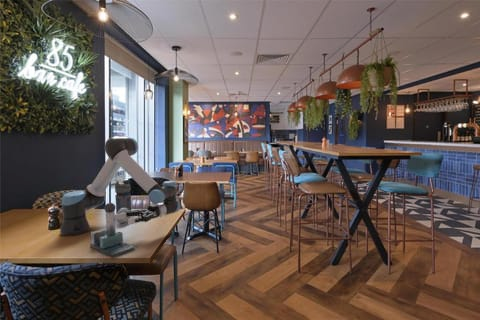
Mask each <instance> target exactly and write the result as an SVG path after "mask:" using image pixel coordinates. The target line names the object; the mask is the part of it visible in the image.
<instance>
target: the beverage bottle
mask: <svg viewBox="0 0 480 320" xmlns="http://www.w3.org/2000/svg"><path fill="white" fill-rule="evenodd" d="M131 190H132V181H131V180H129V179H126V180H125V181H122V182H121V183H120V181H116V182H115V185H114V192H115V193H116V194H115V207H116V208H115V215H117V213H118V211H119V210H120V209H121V208H127V209H128V210H129V211H131V210H132V195H131Z"/></svg>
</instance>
